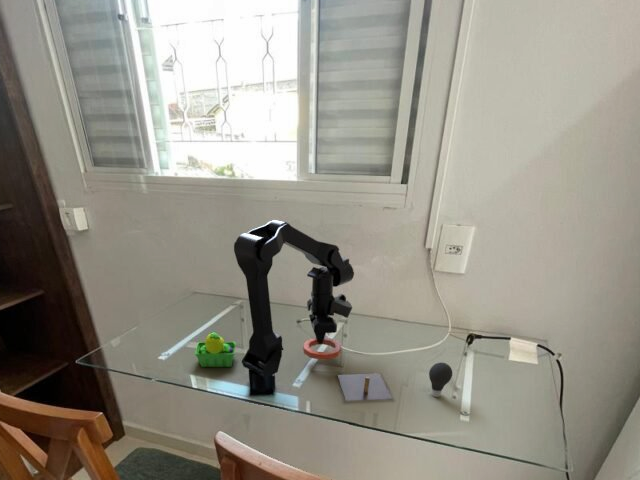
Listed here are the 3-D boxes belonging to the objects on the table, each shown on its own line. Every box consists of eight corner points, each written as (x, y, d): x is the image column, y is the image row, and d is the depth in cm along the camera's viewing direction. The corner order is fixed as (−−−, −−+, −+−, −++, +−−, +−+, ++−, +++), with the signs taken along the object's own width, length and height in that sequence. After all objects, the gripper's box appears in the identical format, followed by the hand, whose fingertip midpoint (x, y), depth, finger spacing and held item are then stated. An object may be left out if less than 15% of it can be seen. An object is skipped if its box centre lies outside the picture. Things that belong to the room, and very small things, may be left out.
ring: (305, 360, 115) (305, 355, 115) (301, 342, 124) (301, 337, 123) (343, 358, 116) (344, 353, 115) (337, 341, 125) (337, 336, 124)
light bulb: (446, 393, 111) (455, 360, 105) (445, 404, 107) (454, 371, 101) (424, 389, 113) (432, 357, 107) (423, 400, 109) (430, 367, 103)
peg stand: (345, 402, 108) (347, 386, 105) (337, 376, 118) (338, 361, 115) (392, 400, 109) (395, 384, 106) (379, 375, 119) (382, 359, 116)
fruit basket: (237, 356, 128) (234, 322, 121) (235, 371, 121) (232, 335, 114) (200, 357, 128) (195, 322, 121) (196, 371, 121) (190, 336, 114)
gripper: (358, 302, 107) (352, 356, 117) (345, 278, 122) (341, 328, 131) (315, 303, 107) (313, 357, 116) (307, 279, 121) (306, 329, 131)
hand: (319, 342), depth 124 cm, fingers closed on ring, 2 cm apart
